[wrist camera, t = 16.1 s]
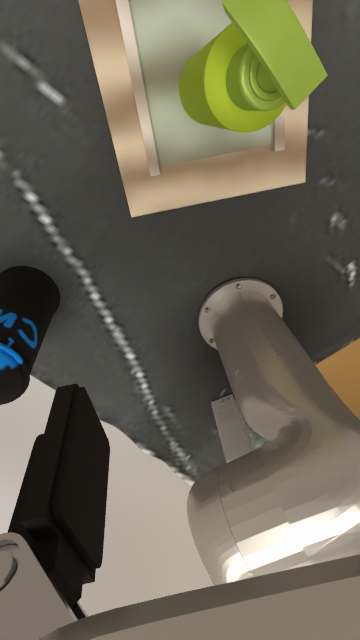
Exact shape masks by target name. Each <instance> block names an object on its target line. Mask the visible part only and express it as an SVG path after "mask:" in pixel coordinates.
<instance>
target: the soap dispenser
mask: <svg viewBox="0 0 360 640" xmlns="http://www.w3.org/2000/svg"><path fill="white" fill-rule="evenodd" d="M222 4H223V7H224V10H225V13H226V14H227V16H228V17H229V19H230V20H231V21H232V23H231V24H230V25H228V26H227V27H226V28H225V29H224V30H223V31H221V32H220V33H219V34H218V35H217V36H216V37H215V38H213V39H212V40H211V41H210V42H209V43H208V44H207V45H205V46H204V47H203V48H202V49H201V50H200V51H198V52H197V53H196V54H195V55H194V56H193V57H192V58H191V59H190V60H189V61H188V62H187V64H186V65H185V67H184V69H183V71H182V74H181V77H180V83H179V95H180V100H181V103H182V106H183V108H184V110H185V112H186V113H187V114H188V115H189V117H190V118H192V119H193V120H194V121H196V122H198V123H200V124H204V125H208V126H213V127H218V128H222V129H227V130H231V131H236V132H242V133H248V132H254V131H258V130H260V129H262V128H264V127H266V126H268V125H269V124H271V123H272V122H273V121H274V120H275V119H276V118H277V117H278V116H279V115H280V114H281V113H282V111H283V110H284V108H285V107H286V105H288V107H289V108H290V109H291V110H295V109H296V108H297V107H298V106H299V105H300V104H301V103H302V102H303V101H304V100H305V99H306V98H307V97H308V96H309V95H310V94H311V93H312V92H313V90H314V89H315V88H316V87H317V86H318V85H319V84H320V83H321V82H322V81H323V80H324V79H325V78H326V77H327V76H328V75H327V73H326V71H325V69H324V67H323V65H322V63H321V61H320V59H319V57H318V55H317V54H316V52H315V50H314V48H313V46H312V44H311V42H310V40H309V38H308V37H307V35H306V33H305V31H304V29H303V27H302V26H301V24H300V22H299V20H298V19H297V17H296V15H295V13H294V12H293V10H292V9H291V7H290V5H289V4H288V2H287V1H286V0H223V1H222Z"/></svg>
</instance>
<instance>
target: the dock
mask: <svg viewBox="0 0 360 640" xmlns="http://www.w3.org/2000/svg"><path fill="white" fill-rule="evenodd" d="M78 1H79V5H80V9H81V13H82V17H83V21H84V26H85V30H86V34H87V38H88V42H89V46H90V50H91V54H92V58H93V62H94V66H95V71H96V75H97V79H98V83H99V87H100V91H101V95H102V99H103V103H104V107H105V111H106V115H107V120H108V124H109V128H110V132H111V136H112V140H113V144H114V148H115V152H116V156H117V160H118V165H119V169H120V173H121V177H122V181H123V185H124V189H125V193H126V197H127V201H128V205H129V209H130V214H131V217H135V216H140V215H145V214H150V213H155V212H160V211H165V210H170V209H175V208H180V207H185V206H190V205H195V204H200V203H205V202H210V201H215V200H219V199H224V198H229V197H234V196H239V195H244V194H249V193H254V192H259V191H264V190H269V189H274V188H279V187H284V186H289V185H294V184H299V183H304V182H305V174H306V150H307V126H308V101H309V96H308V97H307V98H306V99H305V100H304V101H303V102H302V103H301V104H300V105H299V106H298V107H297V108H296V109H295V110H291V109H290V108H289V107H288V105H286V107H285V108H284V110H283V111H282V113H281V114H280V115H279V116H278V117H277V118H276V119H275V120H274V121H273V122H272V123H271V124H269V125H268V126H266V127H264V128H262V129H260V130H258V131H254V132H248V133H242V132H236V131H231V130H227V129H222V128H218V127H213V126H208V125H204V124H200V123H198V122H196V121H194V120H193V119H192V118H190V117H189V115H188V114H187V113H186V112H185V110H184V108H183V106H182V103H181V100H180V95H179V83H180V77H181V74H182V71H183V69H184V67H185V65H186V64H187V62H188V61H189V60H190V59H191V58H192V57H193V56H194V55H195V54H196V53H197V52H198V51H200V50H201V49H202V48H203V47H204V46H205V45H207V44H208V43H209V42H210V41H211V40H212V39H213V38H215V37H216V36H217V35H218V34H219V33H220V32H221V31H223V30H224V29H225V28H226V27H227V26H228V25H230V24H231V23H232V21H231V20H230V19H229V17H228V16H227V14H226V13H225V10H224V7H223V4H222V1H223V0H78ZM286 1H287V2H288V4H289V5H290V7H291V9H292V10H293V12H294V13H295V15H296V17H297V19H298V20H299V22H300V24H301V26H302V27H303V29H304V31H305V33H306V35H307V37H308V38H309V40H310V42H311V28H312V3H313V0H286Z"/></svg>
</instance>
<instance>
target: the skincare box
mask: <svg viewBox="0 0 360 640" xmlns="http://www.w3.org/2000/svg"><path fill="white" fill-rule="evenodd" d="M211 405H212V409H213V413H214V416H215V420H216V424H217V428H218V432H219V436H220V440H221V443H222V447H223V451H224V455H225V459H226V462H227V463H228V462H230V461H232V460H234V459H236V458H238V457H240V456H243V455H245V454H247V453H249V452H251V451H253V450H255V449H254V446H253V443H252V440H251V437H250V435H249V432H248V429H247V426H246V423H245V420H244V419H243V417H242V415H241V413H240V411H239V409H238V406H237V403H236V401H235V399H234V397H233V395H232V394H230V395H228V396H225V397H223V398H220V399H218V400H215V401H213V402H211Z"/></svg>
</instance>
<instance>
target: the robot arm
mask: <svg viewBox="0 0 360 640" xmlns="http://www.w3.org/2000/svg"><path fill="white" fill-rule="evenodd" d="M237 284H238V285H237ZM282 315H283V305H282V301H281V299H280V296H279V295H278V293H277V292H276V291H275V290H274V288H273V287H272V286H270V285H269V284H268V283H266V282H264V281H262V280H259V279H255V278H238V279H233V280H230V281H227V282H225V283H223V284H221V285H220V286H218V287H217V288H215V289H214V290H213V291H212V292H211V293H210V294H209V295H208V296H207V297H206V299H205V300H204V302H203V303H202V305H201V308H200V310H199V315H198V325H199V329H200V332H201V334H202V337H203V338H204V340H205V341H206V342H207V343H208V344H209V345H210V346H211V347H213V348H215V349H217V350H218V352H219V355H220V358H221V360H222V363H223V366H224V369H225V372H226V375H227V377H228V380H229V383H230V386H231V389H232V392H233V394H234V397H235V400H236V403H237V406H238V409H239V411H240V413H241V415H242V417H243V419H244V420H245V422H246V423H247V424H248V425H249V426H250V427H251V428H252V429H253V430H254V431H255V432H257V433H258V434H259V435H261V436H262V437H264V438H265V439H267V440H269V441H270V442H268V443H266V444H264V445H262V446H261V447H260V448H258V449H255V450H253V451H251V452H249V453H247V454H245V455H243V456H240V457H238V458H236V459H234V460H232V461H230V462H228V463H225V464H223V465H221V466H219V467H217V468H215V469H213V470H211V471H209V472H208V473H206V474H204V475H203V476H201V477H200V478H199V479H198V480H197V481H196V482H195V483H194V484H193V486H192V488H191V490H190V492H189V496H188V500H187V514H188V521H189V526H190V529H191V533H192V536H193V539H194V542H195V545H196V548H197V550H198V552H199V555H200V557H201V559H202V562H203V564H204V566H205V568H206V570H207V572H208V574H209V576H210V578H211V580H212V582H213V584H214V586H211V587H206V588H202V589H198V590H192V591H188V592H184V593H179V594H174V595H170V596H166V597H162V598H158V599H153V600H149V601H146V602H141V603H137V604H133V605H128V606H124V607H121V608H116V609H112V610H109V611H106V612H102V613H99V614H96V615H92V616H89V617H88V616H87V614H86V613H85V611H84V610H83V608H82V606H81V605H80V603H79V602H78V600H79V599H80V598H81V593H82V585H83V584H85V583H91V582H95V570H96V568H100V567H101V564H102V557H103V541H104V528H105V514H106V498H107V484H108V471H109V456H110V446H109V441H108V438H107V436H106V434H105V432H104V429H103V427H102V425H101V423H100V420H99V418H98V416H97V414H96V411H95V409H94V407H93V405H92V402H91V400H90V398H89V396H88V394H87V391H86V389H85V388H84V387H79V386H78V385H77V384H72V385H67V386H62V387H58V388H57V390H56V393H55V397H54V400H53V403H52V407H51V411H50V414H49V418H48V422H47V425H46V429H45V433H44V434H41V435H39V436H38V437H37V438H36V440H35V442H34V446H33V449H32V452H31V456H30V459H29V462H28V466H27V469H26V472H25V476H24V479H23V483H22V486H21V489H20V493H19V496H18V499H17V503H16V506H15V509H14V513H13V516H12V519H11V523H10V526H9V530H8V533H3V534H0V640H360V420H359V419H358V418H357V417H356V416H355V415H354V414H353V413H352V411H350V409H349V408H348V407H347V406H346V405H345V404H344V403H343V402H342V400H341V399H340V398H339V397H338V395H337V394H336V393H335V392H334V391H333V389H332V388H331V387H330V385H329V384H328V383H327V381H326V380H325V379H324V377H323V376H322V374H321V373H320V372H319V370H318V369H317V367H316V366H315V365H314V363H313V362H312V360H311V359H310V358H309V356H308V355H307V353H306V352H305V350H304V349H303V348H302V346H301V345H300V343H299V342H298V341H297V339H296V338H295V336H294V335H293V334H292V332H291V331H290V329H289V328H288V327H287V325H286V324H285V322H284V321H283V320H282Z"/></svg>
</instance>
